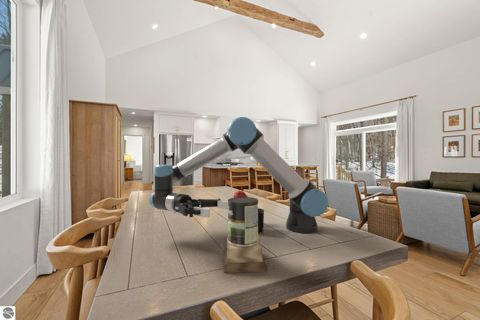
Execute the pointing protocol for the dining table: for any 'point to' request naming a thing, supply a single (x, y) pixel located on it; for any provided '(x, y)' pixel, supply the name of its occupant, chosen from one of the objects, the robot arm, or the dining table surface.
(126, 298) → the dining table surface
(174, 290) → the dining table surface
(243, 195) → the stacking bear
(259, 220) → the pen holder
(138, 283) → the dining table surface
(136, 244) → the dining table surface
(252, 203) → the coffee can
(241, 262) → the plinth
